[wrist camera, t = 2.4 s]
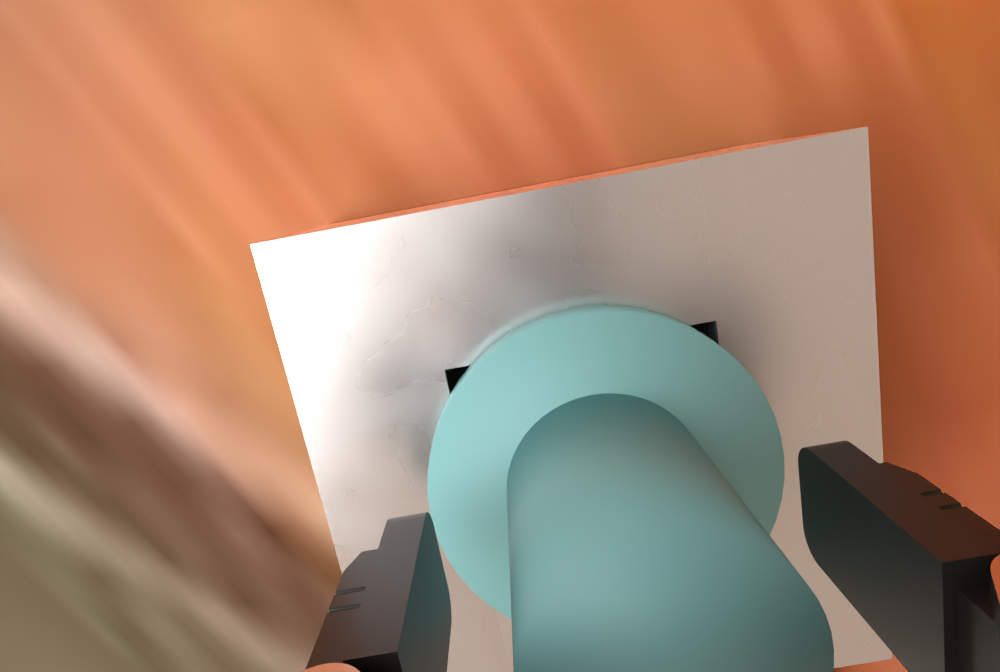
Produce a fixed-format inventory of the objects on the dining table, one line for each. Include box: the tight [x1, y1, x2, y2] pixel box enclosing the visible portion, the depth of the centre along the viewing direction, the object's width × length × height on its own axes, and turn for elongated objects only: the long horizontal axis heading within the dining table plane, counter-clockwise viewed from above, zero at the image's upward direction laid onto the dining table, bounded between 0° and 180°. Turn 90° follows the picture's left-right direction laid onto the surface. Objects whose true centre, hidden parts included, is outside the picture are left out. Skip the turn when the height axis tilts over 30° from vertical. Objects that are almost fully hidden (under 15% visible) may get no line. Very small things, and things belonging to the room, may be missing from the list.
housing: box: [250, 126, 892, 672], centre depth 16 cm, size 12×12×6 cm
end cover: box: [427, 305, 834, 672], centre depth 13 cm, size 7×7×10 cm
